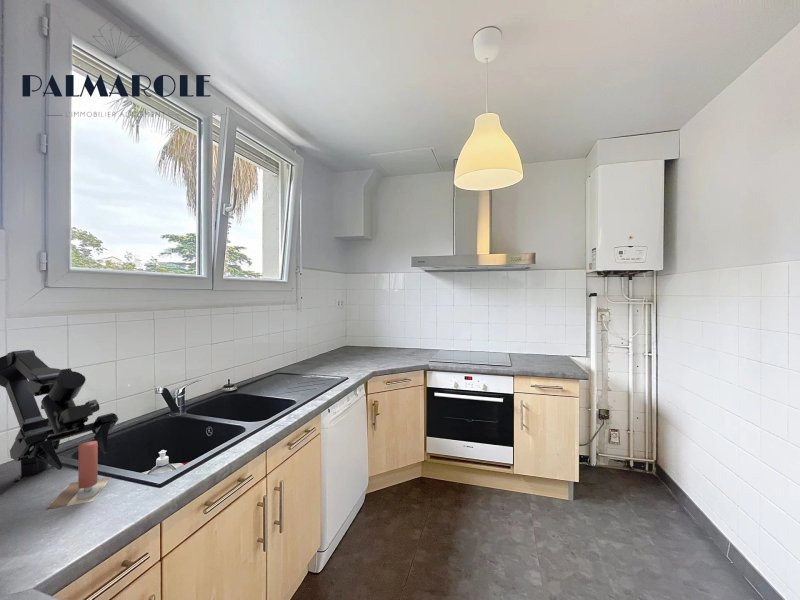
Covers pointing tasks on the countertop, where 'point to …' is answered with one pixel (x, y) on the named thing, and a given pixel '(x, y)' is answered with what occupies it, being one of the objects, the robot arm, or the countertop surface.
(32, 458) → the robot arm
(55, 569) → the countertop surface
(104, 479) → the board
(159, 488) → the countertop surface
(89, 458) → the pink cylinder white base
